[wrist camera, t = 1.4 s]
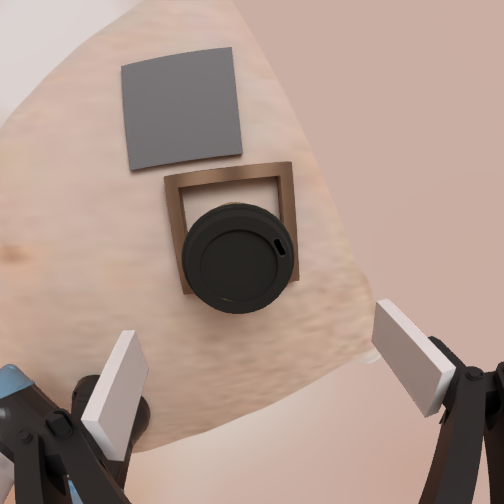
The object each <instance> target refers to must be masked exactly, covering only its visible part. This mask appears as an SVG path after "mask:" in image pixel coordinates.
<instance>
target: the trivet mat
mask: <svg viewBox="0 0 504 504" xmlns="http://www.w3.org/2000/svg"><path fill="white" fill-rule="evenodd" d="M121 70H122V91H123V106H124V119H125V130H126V140H127V149H128V157H129V165H130V170H135V169H140V168H146V167H151V166H157V165H163V164H169V163H175V162H181V161H188V160H195V159H202V158H209V157H217V156H226V155H234V154H243V151H242V142H241V132H240V122H239V113H238V103H237V94H236V84H235V75H234V66H233V56H232V47H228V48H218V49H209V50H201V51H194V52H187V53H181V54H175V55H170V56H164V57H159V58H154V59H150V60H145V61H141V62H137V63H132V64H128V65H125V66H121Z"/></svg>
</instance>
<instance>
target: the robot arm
mask: <svg viewBox="0 0 504 504" xmlns="http://www.w3.org/2000/svg"><path fill="white" fill-rule="evenodd" d="M372 343H373V344H374V346H375V347H376V348H377V350H378V351H379V352H380V354H381V355H382V357H383V358H384V359H385V361H386V362H387V363H388V365H389V366H390V368H391V369H392V371H393V372H394V373H395V375H396V376H397V377H398V379H399V380H400V382H401V383H402V385H403V386H404V387H405V389H406V390H407V392H408V393H409V395H410V396H411V397H412V399H413V401H414V402H415V403H416V405H417V406H418V408H419V409H420V411H421V412H422V414H423V415H424V417H425V418H426V417H428V416H430V415H433V414H435V413H437V412H438V411H439V409H440V407H441V405H442V404H443V405H444V406H445V408H446V410H445V412H444V414H443V416H442V418H441V420H440V423H439V424H441V423H442V425H441V429H440V434H439V438H438V442H437V446H436V450H435V454H434V457H433V461H432V465H431V468H430V471H429V474H428V477H427V481H426V484H425V487H424V489H423V492H422V495H421V498H420V501H419V503H418V504H472V500H473V495H474V491H475V486H476V481H477V475H478V469H479V464H480V457H481V450H482V441H483V436H484V441H485V448H486V456H487V464H488V474H489V484H490V504H504V362H501V363H499V364H498V366H497V368H496V371H493V372H486V373H484V372H483V371H482V370H481V369H479V368H477V367H474V366H470V367H469V366H468V367H466V366H465V364H463V362H462V361H461V360H460V359H459V358H458V357H457V356H456V355H455V354H454V353H453V352H451V350H450V349H449V348H447V347H446V345H445V344H444V343H443V342H442V341H441V340H439V339H437V338H435V337H433V336H431V337H426V336H425V335H424V334H423V333H422V332H421V331H420V330H419V329H418V328H417V327H416V326H415V325H414V324H413V323H412V322H411V321H410V320H409V319H408V318H407V317H406V316H405V315H404V314H403V313H402V312H401V311H400V310H399V309H398V308H397V307H396V306H395V305H394V304H393V303H392V302H391V301H390V300H389V299H384V300H379V301H376V309H375V318H374V327H373V334H372ZM147 373H148V367H147V364H146V361H145V358H144V355H143V352H142V349H141V346H140V343H139V340H138V336H137V333H136V330H125V331H122V333H121V335H120V337H119V339H118V341H117V343H116V345H115V347H114V349H113V351H112V353H111V355H110V357H109V359H108V361H107V363H106V365H105V367H104V369H103V371H102V374H101V375H91V376H86V377H84V378H82V379H81V380H80V381H79V382H78V383H77V385H76V387H75V389H74V391H73V394H72V407H71V415H70V414H69V412H68V411H67V410H65V409H60V408H59V407H58V406H57V405H56V404H55V403H54V402H53V401H51V400H50V399H49V398H48V397H47V396H46V395H45V394H44V393H43V392H42V391H41V390H40V389H39V388H38V387H37V386H36V385H35V382H34V381H32V380H30V379H29V378H28V377H27V376H26V375H25V374H24V373H23V372H22V371H21V370H20V369H19V368H18V367H17V366H15V365H13V364H7V365H5V366H3V367H2V368H1V369H0V504H3V503H4V501H5V500H6V498H7V496H8V494H9V491H10V490H11V488H12V486H13V484H14V485H15V500H16V504H131V503H130V501H129V500H128V498H127V497H126V496H125V494H124V485H125V481H126V476H127V471H128V466H129V461H130V457H131V452H132V448H133V446H134V444H135V443H136V442H137V440H138V439H139V438H140V436H141V435H142V433H143V432H144V431H145V430H146V428H147V426H148V423H149V418H150V410H149V407H148V404H147V403H146V401H145V400H144V398H143V397H142V396H141V393H142V390H143V386H144V383H145V380H146V376H147Z"/></svg>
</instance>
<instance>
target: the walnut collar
mask: <svg viewBox="0 0 504 504" xmlns="http://www.w3.org/2000/svg"><path fill="white" fill-rule="evenodd" d="M269 176H277V183H278V194H279V206H280V219H281V222H282V223H283V225H284V226H285V228H286V229H287V231H288V232H289V234H290V237H291V240H292V243H293V247H294V255H295V258H294V268H293V272H292V275H291V278H290V280H289V282H291V281H299V261H298V242H297V226H296V211H295V197H294V184H293V172H292V162H275V163H264V164H254V165H244V166H235V167H226V168H218V169H210V170H202V171H195V172H188V173H181V174H175V175H169V176H165V177H164V183H165V190H166V197H167V204H168V210H169V217H170V223H171V229H172V235H173V241H174V246H175V252H176V257H177V263H178V268H179V273H180V278H181V283H182V288H183V293H184V295H185V294H194V292H193V290H192V289H191V288H190V286H189V284H188V282H187V280H186V278H185V275H184V272H183V268H182V248H183V243H184V241H185V238H186V235H187V233H188V231H187V225H186V218H185V211H184V205H183V198H182V190H181V187H185V186H192V185H200V184H207V183H215V182H223V181H231V180H240V179H249V178H259V177H269Z"/></svg>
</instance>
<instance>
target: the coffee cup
mask: <svg viewBox="0 0 504 504" xmlns="http://www.w3.org/2000/svg"><path fill="white" fill-rule="evenodd" d="M294 258H295V255H294V247H293V243H292V240H291V237H290V234H289V232H288V231H287V229H286V228H285V226H284V225H283V223H282V222H281V221H280V220H279V219H278V218H277V217H276V216H274V215H273V214H271V213H270V212H269V211H267V210H265V209H263V208H260V207H258V206H255V205H250V204H245V203H240V202H230V203H226V204H224V205H221V206H219V207H217V208H215V209H212V210H210V211H209V212H207V213H206V214H204V215H203V216H201V217H200V218H199V219H198V220H197V221H196V222H195V223H194V224H193V226H192V227H191V229H190V230H189V232H188V233H187V235H186V238H185V241H184V243H183V248H182V268H183V272H184V275H185V278H186V280H187V282H188V284H189V286H190V288H191V289H192V290H193V292H194V293H195V294H196V295H197V296H198V297H199V298H200V299H201V300H202V301H204V302H205V303H206V304H208V305H209V306H211V307H213V308H215V309H217V310H220V311H222V312H226V313H232V314H245V313H250V312H254V311H257V310H260V309H262V308H264V307H266V306H267V305H269V304H271V303H272V302H273V301H274V300H275V299H276V298H277V297H278V296H279V295H280V294H281V292H282V291H283V290H284V288H285V287H286V286H287V284H288V282H289V280H290V278H291V275H292V272H293V268H294Z"/></svg>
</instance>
